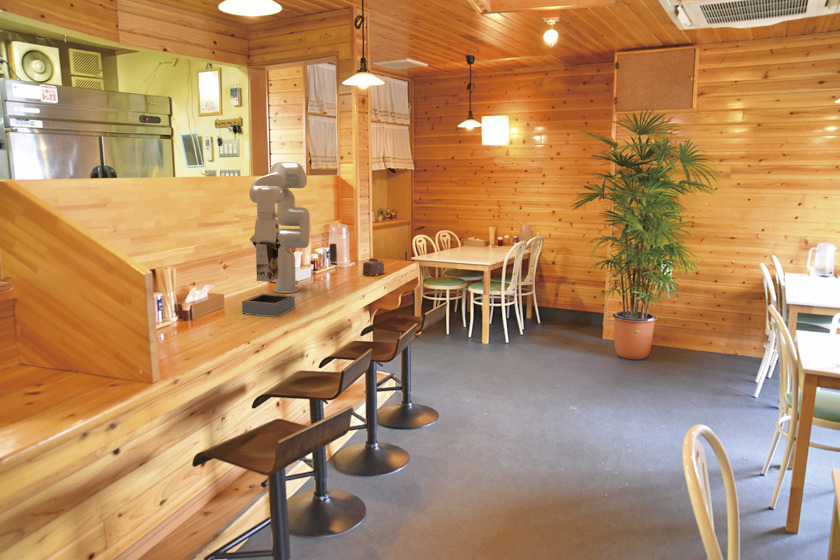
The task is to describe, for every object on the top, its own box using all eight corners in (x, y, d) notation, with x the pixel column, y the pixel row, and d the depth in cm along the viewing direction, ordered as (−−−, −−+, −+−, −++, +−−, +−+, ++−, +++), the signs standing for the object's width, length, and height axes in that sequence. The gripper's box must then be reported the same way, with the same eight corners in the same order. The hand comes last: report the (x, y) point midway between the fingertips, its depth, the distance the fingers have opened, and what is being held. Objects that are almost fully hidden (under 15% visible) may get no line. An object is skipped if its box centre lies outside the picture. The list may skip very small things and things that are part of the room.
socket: (262, 305, 268) (261, 293, 266) (294, 308, 263) (294, 296, 262) (242, 313, 252) (241, 301, 251) (276, 317, 248) (276, 304, 247)
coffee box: (270, 282, 250) (269, 244, 247) (256, 281, 251) (255, 243, 248) (279, 278, 259) (278, 241, 256) (265, 277, 260) (264, 241, 257)
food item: (373, 272, 354) (373, 256, 352) (385, 273, 350) (385, 257, 348) (361, 276, 342) (361, 259, 340) (373, 277, 338) (373, 260, 336)
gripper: (289, 216, 251) (289, 257, 255) (253, 214, 256) (254, 255, 259) (280, 218, 244) (281, 260, 248) (243, 216, 248) (244, 257, 252)
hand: (267, 257), depth 253 cm, fingers closed on coffee box, 6 cm apart
